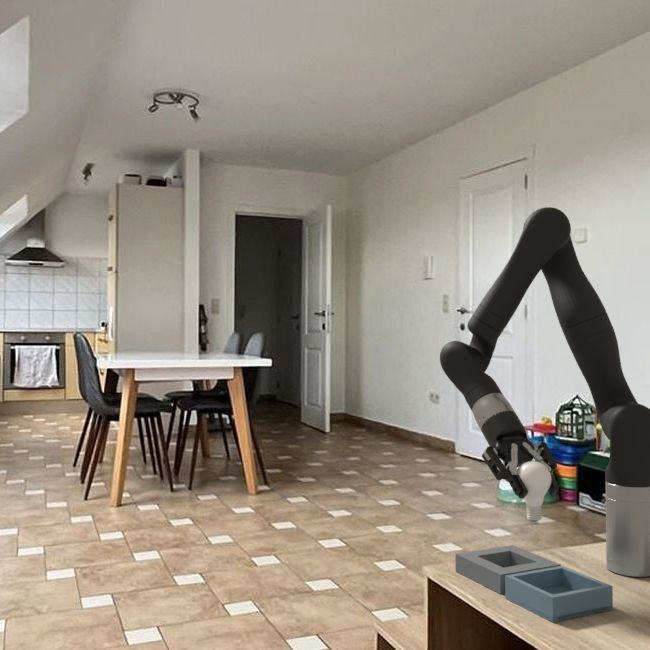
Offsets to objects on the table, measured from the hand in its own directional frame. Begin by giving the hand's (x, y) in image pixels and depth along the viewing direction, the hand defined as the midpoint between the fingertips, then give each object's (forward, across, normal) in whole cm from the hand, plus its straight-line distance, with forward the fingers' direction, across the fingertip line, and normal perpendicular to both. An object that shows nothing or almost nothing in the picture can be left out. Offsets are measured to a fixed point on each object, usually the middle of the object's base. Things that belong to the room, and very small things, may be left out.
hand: (539, 493), depth 129 cm
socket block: (+6, 0, +20) cm, 21 cm away
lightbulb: (+3, 0, +5) cm, 6 cm away
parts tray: (+16, -1, +9) cm, 19 cm away
